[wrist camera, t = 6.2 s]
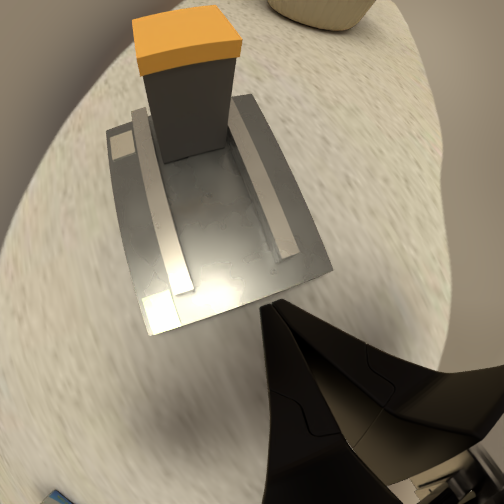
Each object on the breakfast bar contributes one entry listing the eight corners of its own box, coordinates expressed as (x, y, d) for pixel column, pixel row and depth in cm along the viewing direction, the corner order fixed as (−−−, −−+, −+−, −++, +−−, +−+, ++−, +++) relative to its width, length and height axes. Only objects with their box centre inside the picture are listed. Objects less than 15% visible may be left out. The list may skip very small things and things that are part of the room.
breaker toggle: (227, 148, 16) (242, 39, 8) (162, 165, 15) (136, 58, 7) (209, 104, 17) (215, 4, 9) (151, 118, 16) (131, 20, 8)
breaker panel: (320, 275, 17) (345, 265, 14) (156, 333, 15) (142, 338, 12) (248, 110, 20) (254, 79, 16) (113, 146, 17) (100, 117, 14)
